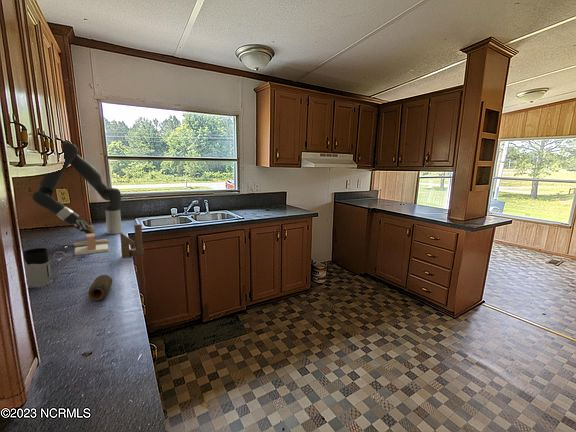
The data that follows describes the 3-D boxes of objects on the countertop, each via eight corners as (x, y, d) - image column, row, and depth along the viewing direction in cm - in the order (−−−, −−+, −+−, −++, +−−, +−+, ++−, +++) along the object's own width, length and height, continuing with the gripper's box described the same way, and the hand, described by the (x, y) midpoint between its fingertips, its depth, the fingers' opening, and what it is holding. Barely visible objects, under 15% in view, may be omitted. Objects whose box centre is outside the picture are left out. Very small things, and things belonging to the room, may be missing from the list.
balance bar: (74, 244, 174) (72, 226, 172) (108, 241, 184) (106, 224, 182) (74, 246, 170) (72, 228, 168) (108, 242, 180) (107, 225, 178)
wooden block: (121, 256, 156) (119, 225, 152) (142, 253, 162) (141, 223, 159) (122, 258, 153) (120, 226, 150) (144, 254, 160) (142, 224, 156)
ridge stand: (75, 249, 163) (73, 234, 161) (107, 246, 172) (106, 231, 171) (74, 255, 154) (73, 238, 153) (108, 251, 164) (107, 235, 162)
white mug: (29, 281, 120) (25, 248, 117) (70, 277, 126) (67, 245, 124) (22, 290, 112) (17, 255, 109) (66, 284, 119) (62, 251, 116)
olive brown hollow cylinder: (110, 300, 107) (108, 284, 106) (88, 304, 104) (86, 287, 103) (113, 285, 120) (112, 270, 119) (94, 288, 117) (92, 273, 116)
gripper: (69, 213, 163) (94, 230, 170) (76, 209, 176) (98, 225, 183) (59, 222, 162) (85, 239, 169) (66, 217, 175) (90, 234, 182)
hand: (92, 232), depth 176 cm, fingers open, 8 cm apart
